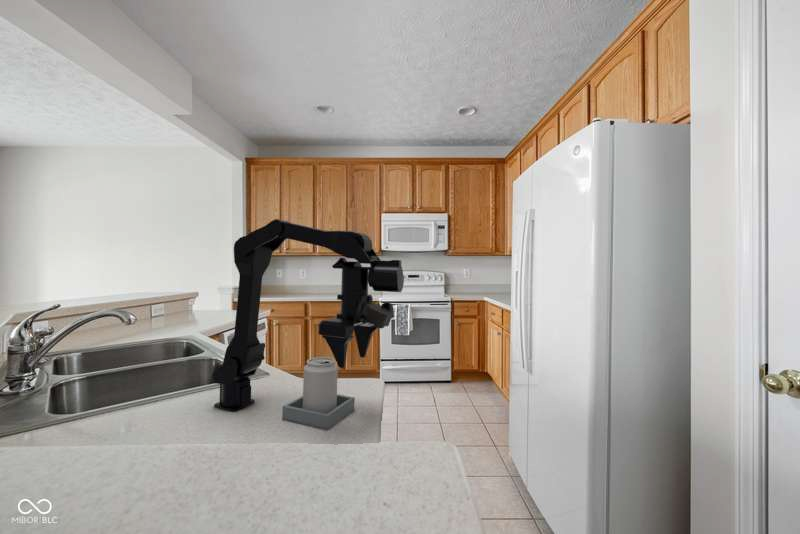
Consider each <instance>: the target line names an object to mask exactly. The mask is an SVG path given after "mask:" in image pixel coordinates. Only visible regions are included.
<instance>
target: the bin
mask: <svg viewBox="0 0 800 534" xmlns="http://www.w3.org/2000/svg"><path fill="white" fill-rule="evenodd" d="M355 398H356V397H354V396H348V395H344V394H338V393H337V407H336V408H335V409H334V410H332V411H331V412H329V413H328V414H324V413H319V412H314V411H310V410H305V409H303V395H301V396H299V397H297V398H295V399H293V400H292V401H290V402H288V403H287V404H284V405H282V411H281V412H282V414H281V415H282V416H281V418H282V419H281V420H282V421H285V422H290V423H294V424H297V425H302V426H307V427H310V428H311V427H312V428H315V429H319V430H324V431H328V430H330V429H331V428H332V427H334V426H335V425H337V424H338V423H339V422H341V421H343V419H345V418H346V417H347V416H348V415H350V414H351V413H353V412H355V404H356V403H355V401H356V400H355Z"/></svg>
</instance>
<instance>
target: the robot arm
mask: <svg viewBox="0 0 800 534" xmlns="http://www.w3.org/2000/svg"><path fill="white" fill-rule="evenodd" d="M286 240H293V241H295V242H296V241H297V242H301V243H305V244H310V245H315V246H319V247H324V248H326V249H328V250H330V251H332V252H333V253H335V254H337V255H340V256H342V257H340V258H339V259H338V260H337V261H336V262H335V263H334V264H333V265H332V266H331V267H332V268H333V269H338V270H339V269H341V288H340V289H341V293H340V294H336V295H337V296H336V299H337V300H339V301H340V313H336V318H334V317H331V318H328V319H323V320H321V321H320V323H319V324H317V325H318V327H317V329H318V330H317V334H318V335H319V336H321V338H322V339H324V340H325V342H326V343H327V344H328V346H329V347H328V348H329V349H330V351H331V352H332V355H333V357H334V360H335V363H336V365H337V367H338V368H340V369H344V368H345V365H346V360H347V353H348V346H349V343H350V341H352V339H353V338H354V337H355V340H356V346H357V351H358V353H359V354H358V355H359V357H360V358H365V357H366V355H367V352H368V349H369V347H370V343H371V340H372V337H373V334H374V333H375V332H376V331H377V330H379V329H384V328H385V327H389V325H390V323H391V320H392V319H393V318H394V317H395V311H394V304H392V303H390V302H389V301H386V302H383V303H382V304H380V303H374V302H373V301H374V299H373V296H372V294H369V287H370V288H372V290H373V291H374V292H383V293H384V292H387V293H402V291H403V289H404V282H405V275H404V271H403V266H402V260H401V259H392V260H381V259H380V257H379V255H378V254H377V253H376V251H375V250H374V248H373V242H372V241H373V240H371V237H370V236H369V235H367V234H366V233H362V232H359V231H354V230H325V229H321V228H315V227H310V226H307V225H302V224H298V223H292V222H290V221H288V220H283V219H279V218H278V219H277V218H276V219H273V220H271V221H270V222H268V223H267V224H265V225H264V226H261V227H260V228H257V229H256V230H253V231H251V232H249V233H248V234H247V235H244V236H241V237H239V238H238V239H237V240H236V241H235V242H234V245H233V259H234V260H233V262H234V264H235V267H236V269H237V271H238V274H239V278H238V279H239V281H238V291H237V301H236V314H235V321H234V323H235V324H234V333H233V336H232V339H231V341H230V342H229V344H228V346H227V347H226V349H225V352H224V353H225V354H224V357H223V361H222V364H220V366H219V367H218V368H217V369H216V370H215V371H214V372H213V373H211V376H212V379H213V382H214V384H218V385H219V402H216V403H214V404H213V407H214V408H218V409H222V410H227V411H230V412H236V411H238V410H240V409H243V408H245V407H247V406H249V405H251V404H254V403H255V401H256V400H255V399H252V385H251V378H250V377H251V376H255V375H256V373H257V369H258V368H259V367H260V366H262V365H261V364H262V361H264V360H265V347H266V343H265V342H260V340H259V338H258V324H259V314H260V303H261V293H262V285H263V276H264V274H265V272H266V271H267V269H268V267H269V266H270V263H271V259H272V256H273V253H274V252H275V251H276V250H279V248H281V246H282V245H283V244H284V242H285V241H286ZM346 258H348V259H354V260H355V261H354V260H353V261H352V260H351V261H349V260H347V259H346ZM362 264H363V265H364V264H366V265H370V266H362ZM353 333H354V335H353Z"/></svg>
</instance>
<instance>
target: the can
mask: <svg viewBox="0 0 800 534" xmlns="http://www.w3.org/2000/svg"><path fill="white" fill-rule="evenodd" d="M338 370H339V366H338V364H337V363H336V360H335V358H332V357H328V356H320V357H319V356H315V357H311V358H309V359H306V364H305V365H304V366H303V381H302V382H303V384H302V388H303V389H302V396H303V409H305V410H310V411H314V412H319V413H324V414H328V413H329V412H331V411H332V410H334V409H335V408H336V407H337V394H338Z"/></svg>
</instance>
